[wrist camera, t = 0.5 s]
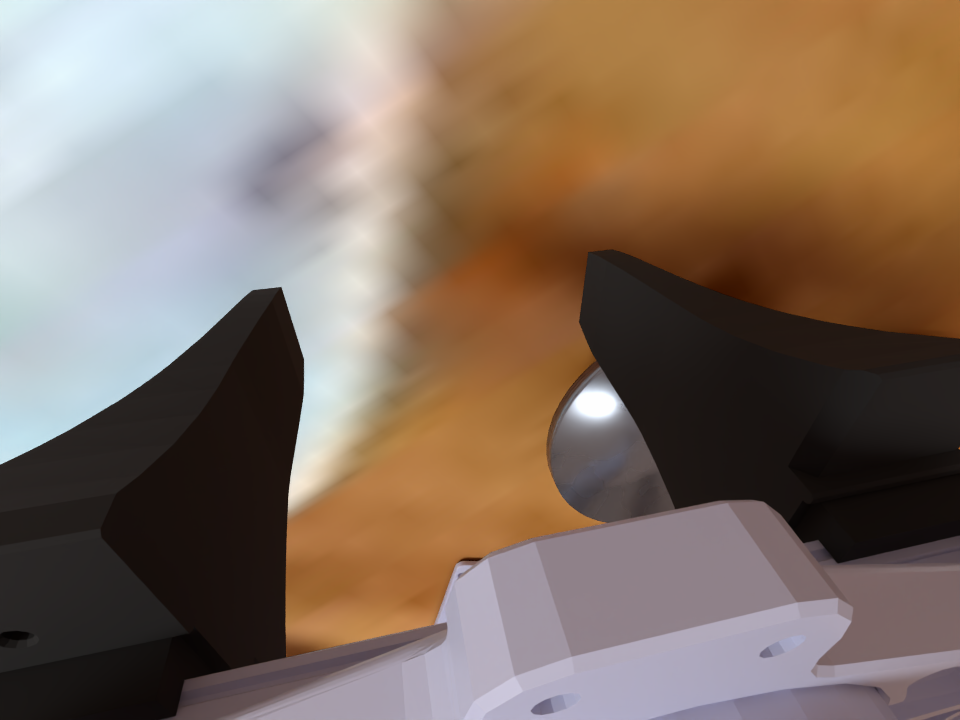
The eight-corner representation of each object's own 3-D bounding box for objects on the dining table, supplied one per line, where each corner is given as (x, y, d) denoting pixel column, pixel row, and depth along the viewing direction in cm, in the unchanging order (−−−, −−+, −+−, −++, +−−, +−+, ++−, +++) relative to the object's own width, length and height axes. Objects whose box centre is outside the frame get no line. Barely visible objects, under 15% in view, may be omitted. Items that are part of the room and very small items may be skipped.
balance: (854, 471, 37) (934, 538, 31) (493, 436, 28) (520, 519, 23) (957, 343, 32) (1073, 398, 26) (556, 255, 23) (608, 310, 18)
